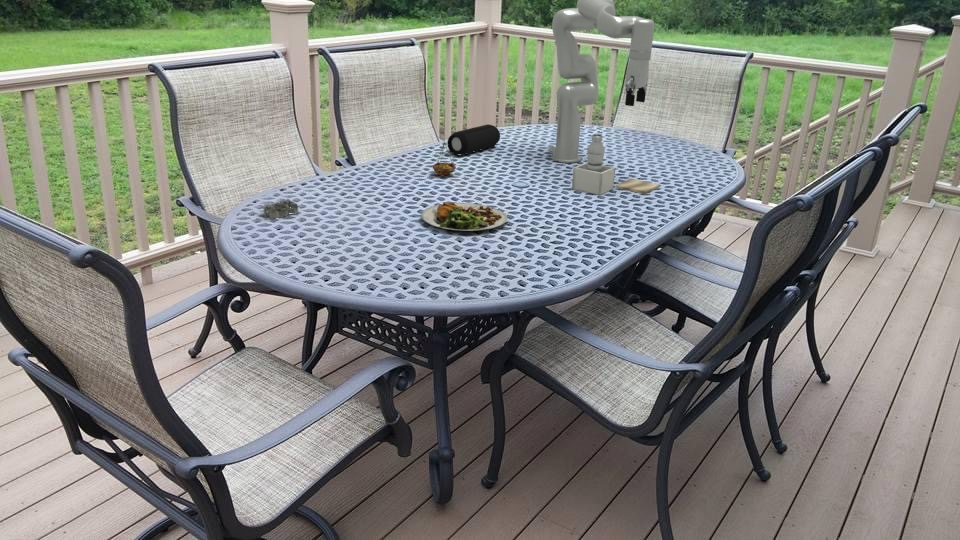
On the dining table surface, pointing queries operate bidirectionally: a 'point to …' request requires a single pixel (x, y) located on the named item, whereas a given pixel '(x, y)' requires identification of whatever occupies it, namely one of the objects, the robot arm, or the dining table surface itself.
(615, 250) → the dining table surface
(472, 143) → the portable speaker
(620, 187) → the pad
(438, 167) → the bird feeder
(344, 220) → the dining table surface
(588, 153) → the plastic bottle
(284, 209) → the dark grey rough lump
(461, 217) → the plate of food
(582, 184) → the bin
